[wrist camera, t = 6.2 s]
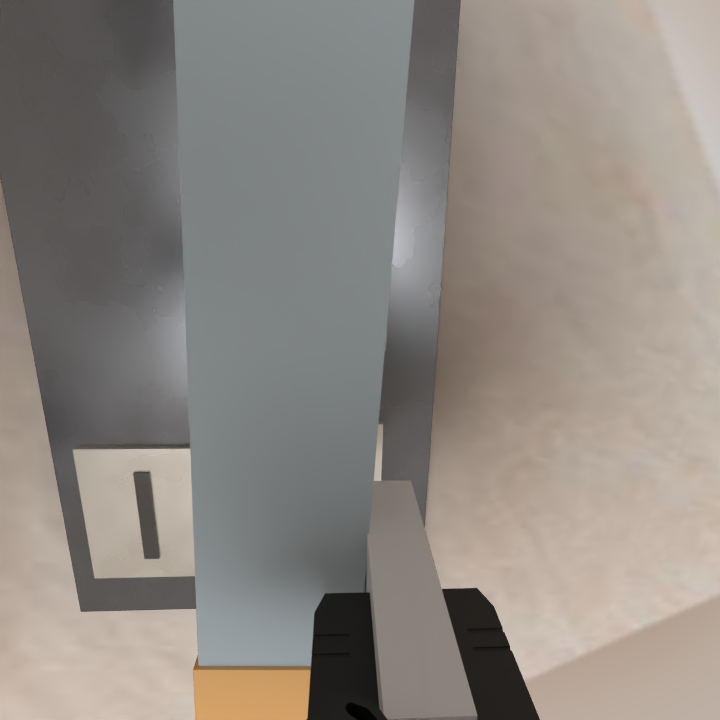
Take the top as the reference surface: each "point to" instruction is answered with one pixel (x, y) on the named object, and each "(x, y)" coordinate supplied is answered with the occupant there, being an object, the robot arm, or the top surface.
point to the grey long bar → (283, 319)
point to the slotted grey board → (168, 276)
